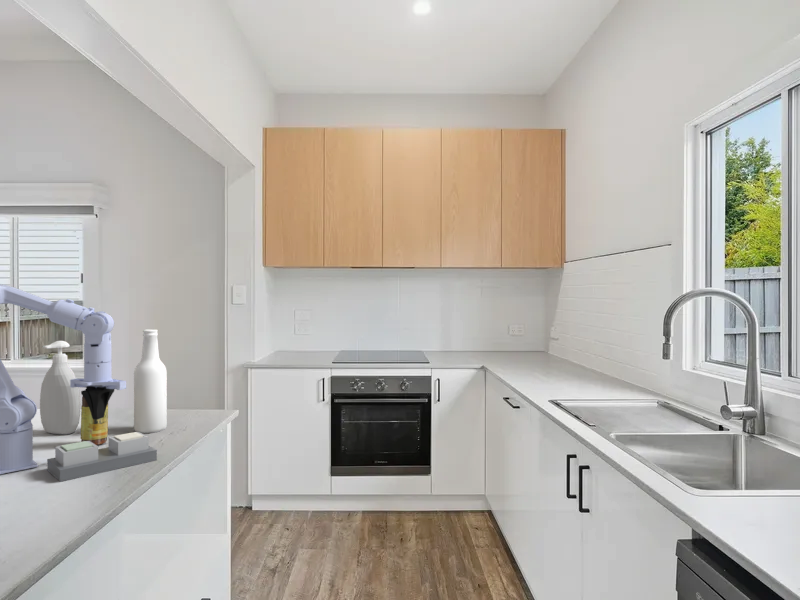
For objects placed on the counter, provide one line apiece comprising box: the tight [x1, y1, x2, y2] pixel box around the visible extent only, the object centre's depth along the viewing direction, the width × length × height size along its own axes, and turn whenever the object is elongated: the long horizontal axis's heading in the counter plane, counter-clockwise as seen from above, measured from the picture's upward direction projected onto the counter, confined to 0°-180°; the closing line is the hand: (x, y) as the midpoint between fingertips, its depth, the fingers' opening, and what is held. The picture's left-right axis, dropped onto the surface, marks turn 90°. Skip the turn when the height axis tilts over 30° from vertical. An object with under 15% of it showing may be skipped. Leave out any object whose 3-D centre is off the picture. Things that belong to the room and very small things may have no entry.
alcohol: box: [133, 328, 168, 434], centre depth 151 cm, size 9×9×30 cm
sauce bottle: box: [80, 385, 109, 446], centre depth 137 cm, size 7×6×20 cm
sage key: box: [60, 441, 93, 452], centre depth 116 cm, size 5×5×2 cm
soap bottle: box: [39, 340, 81, 435], centre depth 148 cm, size 14×8×27 cm, turn 70°
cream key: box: [113, 431, 143, 442], centre depth 124 cm, size 5×5×2 cm
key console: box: [46, 432, 158, 483], centre depth 120 cm, size 11×20×6 cm, turn 137°
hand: (98, 418), depth 122 cm, fingers closed
